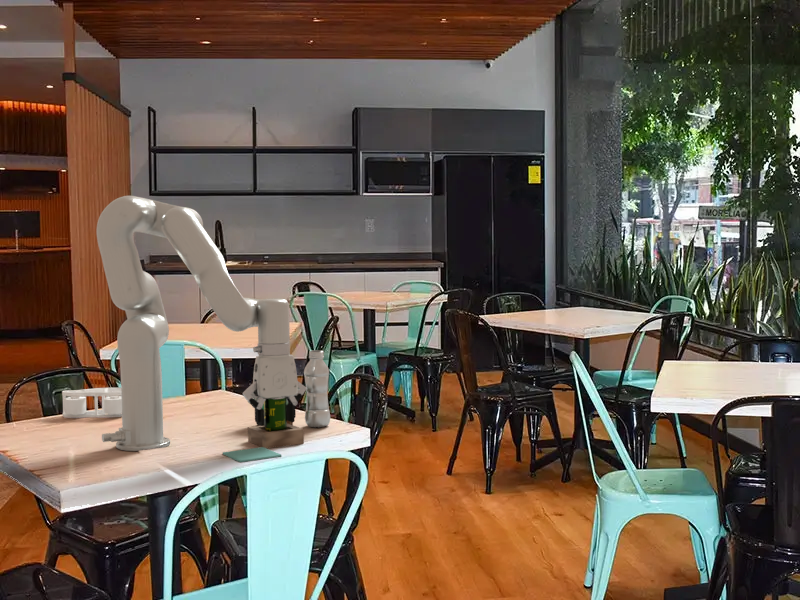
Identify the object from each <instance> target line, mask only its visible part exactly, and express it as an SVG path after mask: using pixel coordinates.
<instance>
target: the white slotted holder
mask: <svg viewBox="0 0 800 600" xmlns="http://www.w3.org/2000/svg"><path fill="white" fill-rule="evenodd" d="M61 396H62V417H63V418H65V419H82V418H83V419H84V418H85V419H86V418H99V419H101V418H105V419H106V418H107V419H108V418H122V395H121V387H95V388H87V389H86V388H84V389H76V390H69V389H67V390H61ZM87 397H93V399H94V410H87ZM98 397H101V409H99V406H98V405H99V404H98V403H99V402H98V401H99V400H98Z"/></svg>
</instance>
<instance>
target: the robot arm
mask: <svg viewBox="0 0 800 600" xmlns="http://www.w3.org/2000/svg"><path fill="white" fill-rule="evenodd" d="M203 221H204V220H203V219H202V216H201V215H200V214H199V212H197V211H196V210H195V209H193V208H190V207H185V206H179V205H175V204H170V203H166V202H161V201H158V200H155V199H149V198H146V197H141V196H136V195H124V196H120V197H118V198H116V199H114V200H112V201H111V202H110V203H109V204H107V206H106V207H105V208H103V211H101V213H100V215H99V217H98V219H97V224H96V240H97V241H96V242H97V245H98V249H99V253H100V256H101V262H102V265H103V270H104V274H105V278H106V282H107V286H108V290H109V295H110V298H111V301H112V303H113V304H114V305H115V306H116V307H117V308H119V309H120V310H122V311H125V315H126V318H127V319H126V320H125V321H123V323H122V324H121V325H120V327H119V329H118V331H117V339H116V340H117V341H116V342H117V350H118V351H117V352H118V357H119V365H120V367H119V368H120V384H121V385H120V386H121V387H120V388H121V395H122V413H121V414H122V417H121V422H122V423H121V424H122V425H121V427H119V428H118V430H116V431H114V432H113V433H112V432H111V433H110V432H108V433H102V434H101V441H102V442H103V443H105V442H106V443H107V442H111V443H115V447H116V449H118V450H121V451H127V452H139V451H146V450H155V449H163V448H166V447H169V446H170V444H171V439H170V438H168V437H165V436H164V412H163V411H164V410H163V409H164V406H163V402H164V401H163V373H162V360H161V354H160V353H161V352H160V348H162V347H163V346H164V344H166V342H167V341H168V338H169V332H170V329H169V323H168V319H167V314H166V311H165V307H164V303H163V300H162V295H161V291H160V288H159V285H158V282H157V281H156V279H155V278H154V277H153V276H152V275H151V274H150V273H148V272H146V271H145V270H143V268H142V263H141V260H140V254H139V251H138V248H137V245H136V242H135V240H134V234H135V233H141V234H142V233H143V234H147V235H152V236H155V237H161V238H165V239H166V240H168V242H169V244H171V246H172V248H173V249H174V251H175V252H176V254H177V255H178V256H179V257H180V260H182V262H183V263H184V264H185V265H184V266H186V267H187V269H188V270H189V271H190V274H191V275H192V276H193V279H194V281H195V283H196V284H197V286H198V288H199V289H200V291H201V293H202V295H203V297H204V299H205V300H206V302H207V303H208V306H210V308H211V310H212V311H213V312H214V313H215V315H216V316H217V318H218V319H219V321H220V322H221V323H222V324H223V326H224V327H225V328H227V329H228V330H231V331H232V332H237V333H238V332H243V331H246V330H248V329H251V328H257V346H254V347H252V351H253V352H254V353H257V356H256V357H255V360H254V361H255V362H254V366H253V377H252V383H251V384H250V385H249V386H248V387H247V388H246V389H245V390H244V391H243V392H242V396H243V398H244V399H245V400H246V401H247V403H248V404H250V405H251V406H252V408H253V409H254V420H255V421H254V422H255V424H256V426H257V425H260V426H264V409H262V406H263V404H264V402H265V400H266V399H273V398H280V397H286V400H287V401H288V404H287V405H286V413H287V421H290V422H293V423H295V418H296V406H297V405H298V402H299V401H300V400H301V399H302V396H303V395H304V394H305V392H306V385H303V384H302V383H301V382H300V381H298V374H297V373H298V372H297V365H296V362H295V356H294V355H293V354H291V341H290V340H291V339H290V333H291V332H290V330H291V329H290V328H291V327H290V304H289V301H288V300H287V299H284V298H263V299H257V298H251V297H250V298H249V297H244V296H243V295H242V294H241V293H240V291H239V290H238V288H237V286H236V285H235V283H234V282H233V280H232V279H231V276H230V275H229V272H228V269H227V265H226V260H225V258H224V255H223V254H222V252H221V251H220V249H219V248H218V247H217V245H216V244H215V243H214V241H213V240H212V238H211V237H210V235H209V234H208V232H207V230H206V229H205V228H204V222H203ZM252 393H254V395H255V396H257V397H256V399H254V398H252V396H251V395H252Z"/></svg>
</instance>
